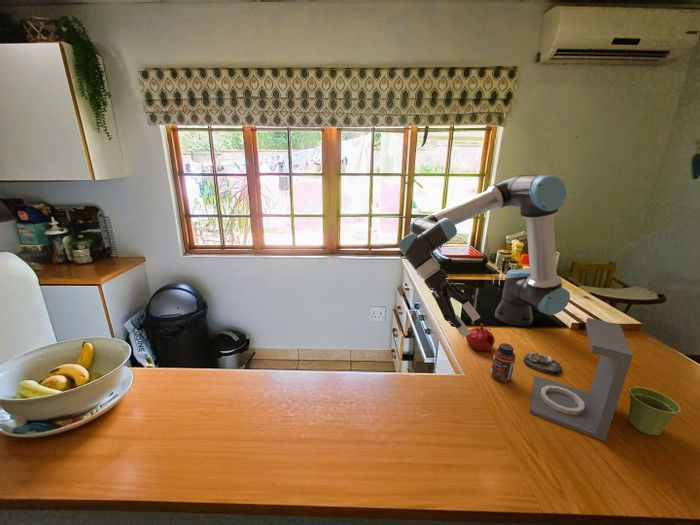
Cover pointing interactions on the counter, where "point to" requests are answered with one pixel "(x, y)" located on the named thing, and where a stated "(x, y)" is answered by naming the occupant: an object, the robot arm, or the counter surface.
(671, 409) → the plant pot
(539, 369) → the dark grey oval piece
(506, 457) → the counter surface
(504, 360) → the supplement bottle
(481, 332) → the pomegranate
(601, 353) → the seat stand
